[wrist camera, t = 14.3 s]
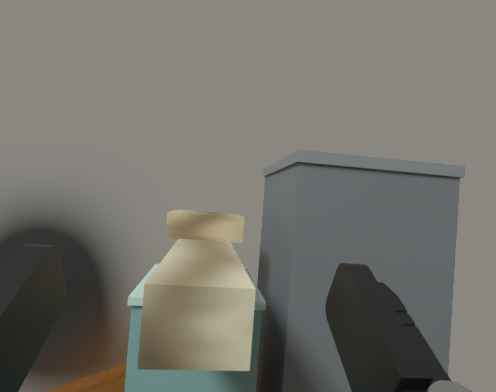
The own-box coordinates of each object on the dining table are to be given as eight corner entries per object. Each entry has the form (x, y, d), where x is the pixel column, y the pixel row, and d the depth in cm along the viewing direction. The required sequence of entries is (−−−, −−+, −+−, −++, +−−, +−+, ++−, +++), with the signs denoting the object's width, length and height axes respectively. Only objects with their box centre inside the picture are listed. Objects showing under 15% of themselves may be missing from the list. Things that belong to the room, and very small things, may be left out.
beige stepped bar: (107, 368, 11) (120, 225, 12) (173, 258, 33) (177, 209, 33) (276, 371, 12) (286, 236, 12) (232, 261, 34) (236, 213, 34)
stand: (261, 638, 21) (297, 149, 22) (241, 470, 35) (264, 169, 35) (437, 623, 23) (465, 166, 24) (352, 468, 36) (372, 178, 37)
